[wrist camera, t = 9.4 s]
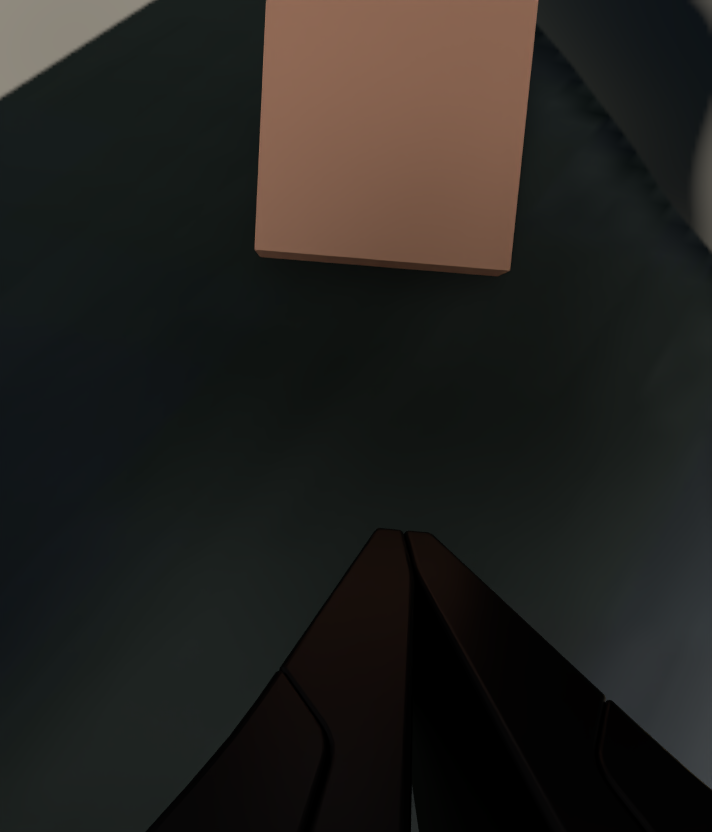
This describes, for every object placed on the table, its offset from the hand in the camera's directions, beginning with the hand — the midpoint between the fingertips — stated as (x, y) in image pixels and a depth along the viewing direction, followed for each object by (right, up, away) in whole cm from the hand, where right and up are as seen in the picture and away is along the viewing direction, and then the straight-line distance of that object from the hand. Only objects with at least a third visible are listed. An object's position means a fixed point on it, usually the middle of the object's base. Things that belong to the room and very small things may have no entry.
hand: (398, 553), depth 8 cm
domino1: (0, +8, +13) cm, 15 cm away
